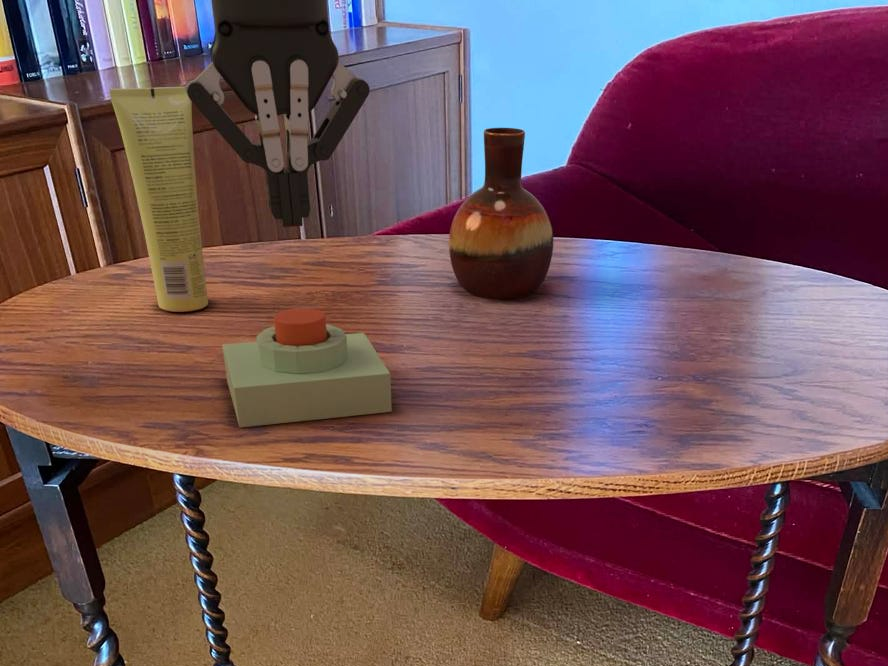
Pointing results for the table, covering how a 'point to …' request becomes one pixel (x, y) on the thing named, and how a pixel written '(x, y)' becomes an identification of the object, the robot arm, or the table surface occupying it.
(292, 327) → the red push button
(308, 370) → the push button base
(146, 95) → the tube
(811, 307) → the table surface
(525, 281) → the vase
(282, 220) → the robot arm
